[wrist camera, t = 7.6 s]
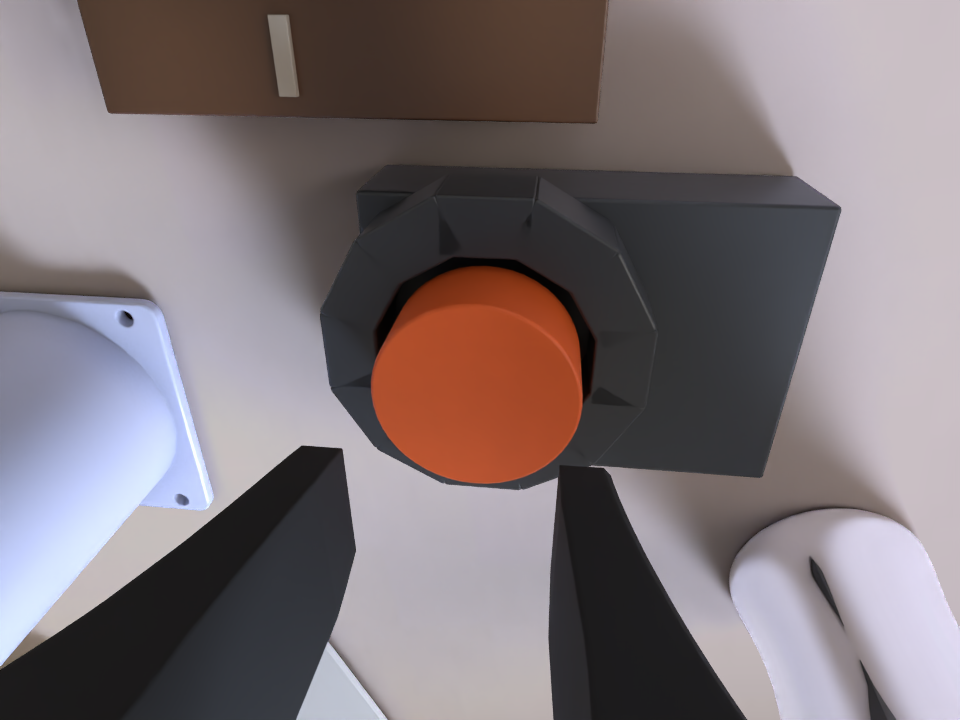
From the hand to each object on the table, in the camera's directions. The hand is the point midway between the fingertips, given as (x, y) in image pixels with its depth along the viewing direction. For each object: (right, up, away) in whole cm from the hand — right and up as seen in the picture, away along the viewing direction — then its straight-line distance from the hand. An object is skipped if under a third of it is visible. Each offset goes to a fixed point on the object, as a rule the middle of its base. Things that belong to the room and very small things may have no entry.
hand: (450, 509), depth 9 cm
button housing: (+3, +4, +8) cm, 9 cm away
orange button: (+1, +2, +4) cm, 5 cm away
